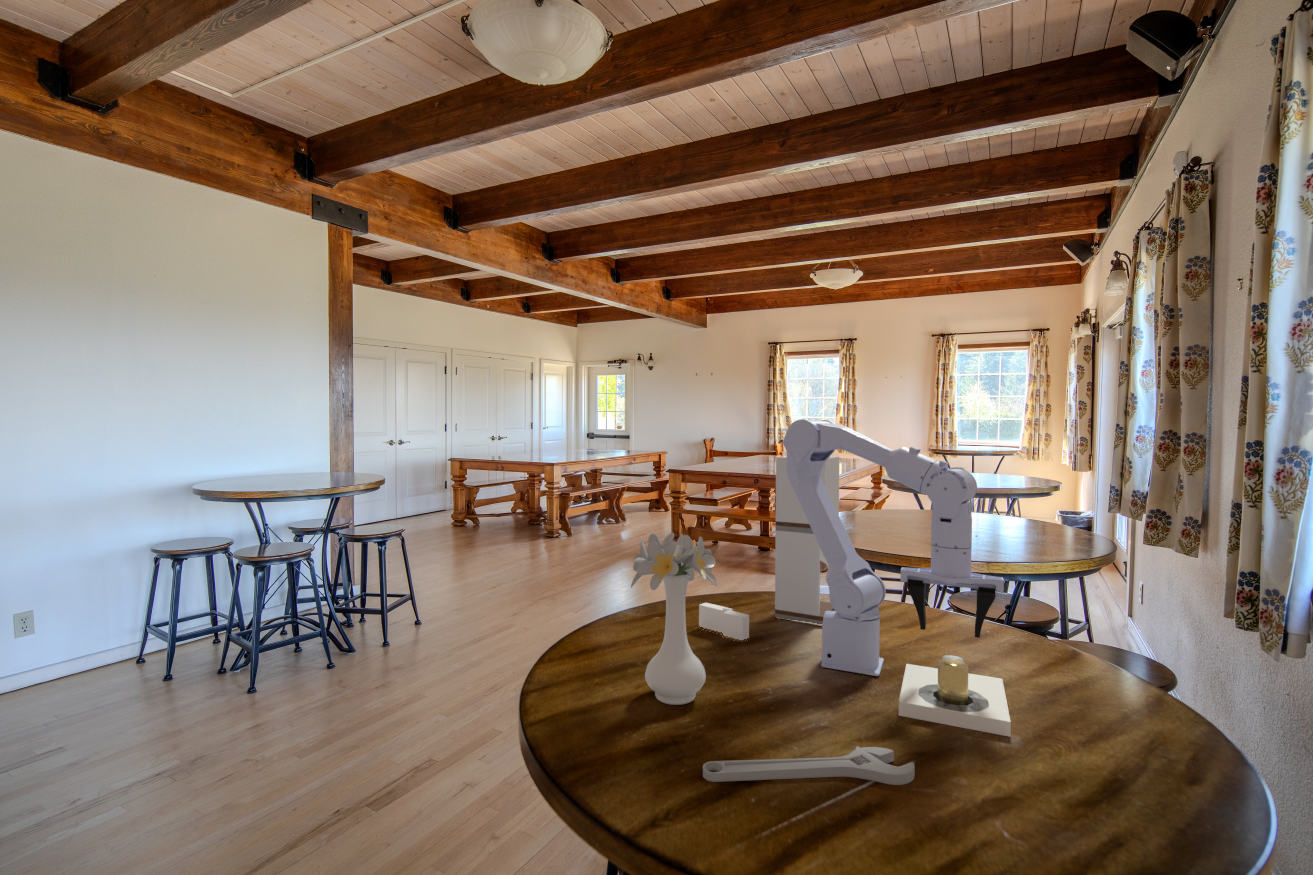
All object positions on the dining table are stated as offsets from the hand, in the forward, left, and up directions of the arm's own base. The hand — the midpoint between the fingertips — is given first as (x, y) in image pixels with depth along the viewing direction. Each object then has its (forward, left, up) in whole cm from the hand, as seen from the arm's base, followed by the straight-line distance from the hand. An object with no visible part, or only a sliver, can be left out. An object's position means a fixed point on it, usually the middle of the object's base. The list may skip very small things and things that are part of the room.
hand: (949, 631), depth 97 cm
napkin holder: (-41, +9, -10) cm, 43 cm away
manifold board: (+1, -5, -9) cm, 10 cm away
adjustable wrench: (-15, -32, -10) cm, 37 cm away
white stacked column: (-28, +29, -10) cm, 42 cm away
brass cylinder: (+1, -8, -9) cm, 12 cm away
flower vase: (-38, -21, -10) cm, 45 cm away
